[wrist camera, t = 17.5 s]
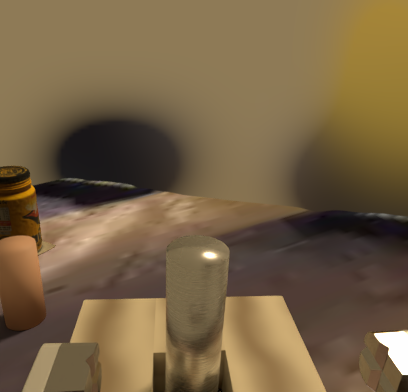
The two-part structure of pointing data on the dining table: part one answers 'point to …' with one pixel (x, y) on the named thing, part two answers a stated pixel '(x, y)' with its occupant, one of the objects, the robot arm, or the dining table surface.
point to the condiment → (19, 207)
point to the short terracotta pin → (21, 283)
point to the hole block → (230, 353)
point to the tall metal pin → (195, 312)
